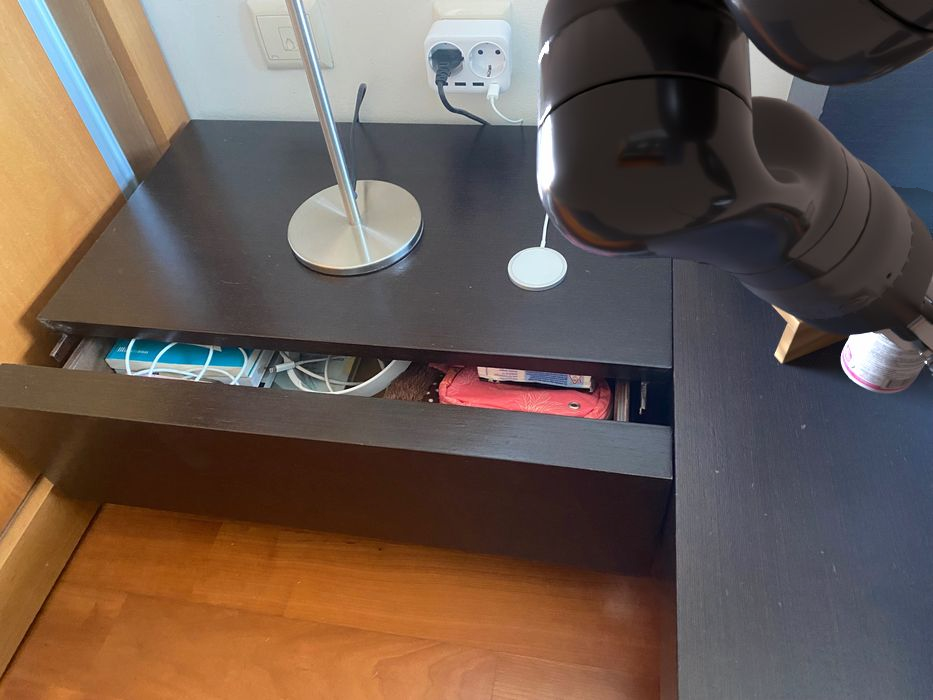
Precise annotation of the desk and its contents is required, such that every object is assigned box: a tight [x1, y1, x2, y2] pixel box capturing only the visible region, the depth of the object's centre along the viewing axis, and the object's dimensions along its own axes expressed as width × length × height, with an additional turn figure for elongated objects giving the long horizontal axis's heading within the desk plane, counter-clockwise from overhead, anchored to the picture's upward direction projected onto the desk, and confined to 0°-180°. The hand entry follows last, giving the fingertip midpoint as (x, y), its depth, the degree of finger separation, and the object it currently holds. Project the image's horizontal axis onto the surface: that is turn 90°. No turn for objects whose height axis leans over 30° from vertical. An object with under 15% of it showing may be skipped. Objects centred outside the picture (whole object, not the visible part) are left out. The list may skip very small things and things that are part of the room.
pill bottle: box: [840, 276, 933, 394], centre depth 47 cm, size 5×5×8 cm
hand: (922, 319), depth 47 cm, fingers closed on pill bottle, 4 cm apart
